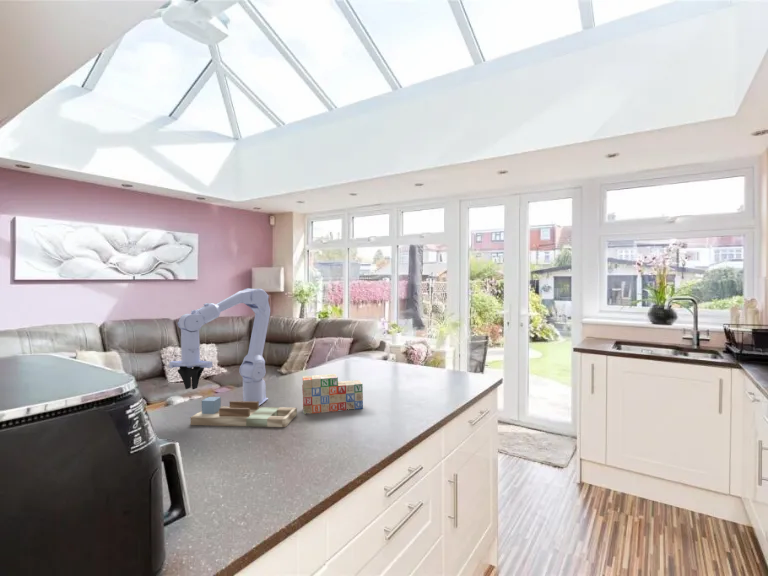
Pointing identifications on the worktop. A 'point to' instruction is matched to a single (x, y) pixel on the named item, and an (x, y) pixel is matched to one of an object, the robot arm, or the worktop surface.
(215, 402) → the block
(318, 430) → the worktop surface
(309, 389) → the stack of blocks
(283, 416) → the board
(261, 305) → the robot arm
